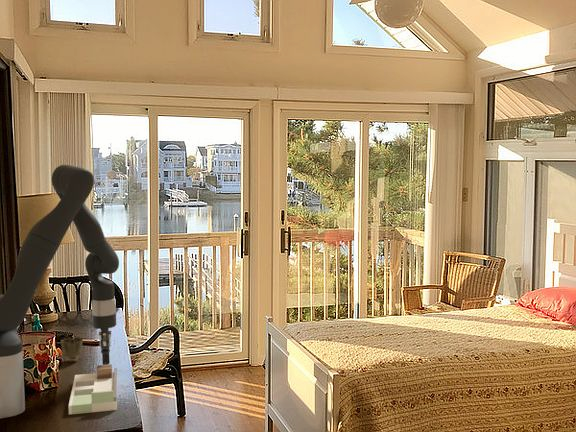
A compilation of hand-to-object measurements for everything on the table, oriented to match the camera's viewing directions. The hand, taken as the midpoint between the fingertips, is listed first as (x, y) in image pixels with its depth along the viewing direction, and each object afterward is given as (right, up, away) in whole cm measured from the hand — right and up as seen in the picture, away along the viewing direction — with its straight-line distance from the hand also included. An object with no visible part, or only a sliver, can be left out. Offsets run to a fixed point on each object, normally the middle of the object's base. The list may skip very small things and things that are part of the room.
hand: (106, 363), depth 213 cm
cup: (-17, -3, +17) cm, 25 cm away
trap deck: (+2, -5, -18) cm, 19 cm away
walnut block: (+2, -2, -8) cm, 8 cm away
